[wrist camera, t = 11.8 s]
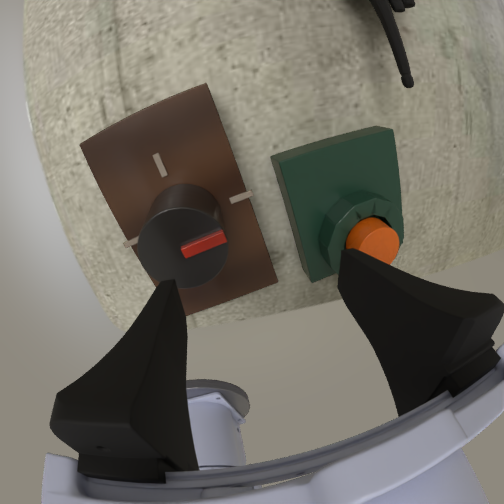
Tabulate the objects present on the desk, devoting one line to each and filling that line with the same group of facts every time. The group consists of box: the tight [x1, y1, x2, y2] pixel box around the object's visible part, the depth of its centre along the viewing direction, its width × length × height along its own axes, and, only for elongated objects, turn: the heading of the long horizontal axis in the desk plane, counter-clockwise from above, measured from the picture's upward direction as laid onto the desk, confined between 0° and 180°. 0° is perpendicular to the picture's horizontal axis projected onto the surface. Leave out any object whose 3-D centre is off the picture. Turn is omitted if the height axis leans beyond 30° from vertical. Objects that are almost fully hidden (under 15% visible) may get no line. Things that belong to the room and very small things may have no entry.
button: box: [346, 218, 399, 265], centre depth 18 cm, size 4×4×2 cm
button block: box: [271, 126, 404, 283], centre depth 19 cm, size 10×9×4 cm
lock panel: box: [80, 83, 278, 316], centre depth 18 cm, size 14×9×3 cm, turn 18°
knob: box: [137, 184, 229, 289], centre depth 14 cm, size 4×4×4 cm
